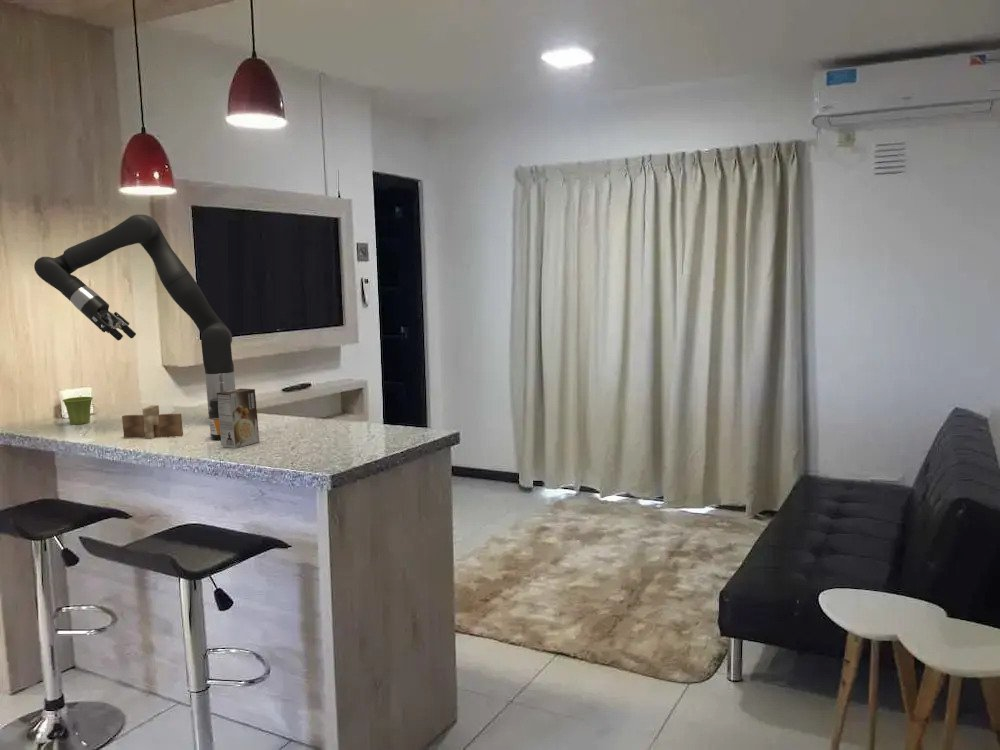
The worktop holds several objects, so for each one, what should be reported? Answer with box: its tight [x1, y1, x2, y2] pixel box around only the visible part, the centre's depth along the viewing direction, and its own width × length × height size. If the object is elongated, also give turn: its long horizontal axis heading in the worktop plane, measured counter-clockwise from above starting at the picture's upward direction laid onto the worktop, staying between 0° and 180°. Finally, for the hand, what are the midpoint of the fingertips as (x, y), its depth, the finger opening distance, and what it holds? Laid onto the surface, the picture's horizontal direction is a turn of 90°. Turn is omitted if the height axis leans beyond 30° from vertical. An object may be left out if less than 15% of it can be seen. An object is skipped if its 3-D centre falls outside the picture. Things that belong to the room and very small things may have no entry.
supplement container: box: [208, 398, 221, 441], centre depth 251 cm, size 10×10×12 cm
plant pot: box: [62, 396, 94, 425], centre depth 286 cm, size 9×9×9 cm
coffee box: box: [217, 388, 260, 449], centre depth 238 cm, size 9×6×16 cm
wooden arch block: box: [142, 404, 160, 439], centre depth 256 cm, size 2×6×10 cm, turn 178°
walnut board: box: [121, 413, 184, 439], centre depth 256 cm, size 18×2×7 cm, turn 88°
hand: (127, 337), depth 265 cm, fingers open, 8 cm apart
